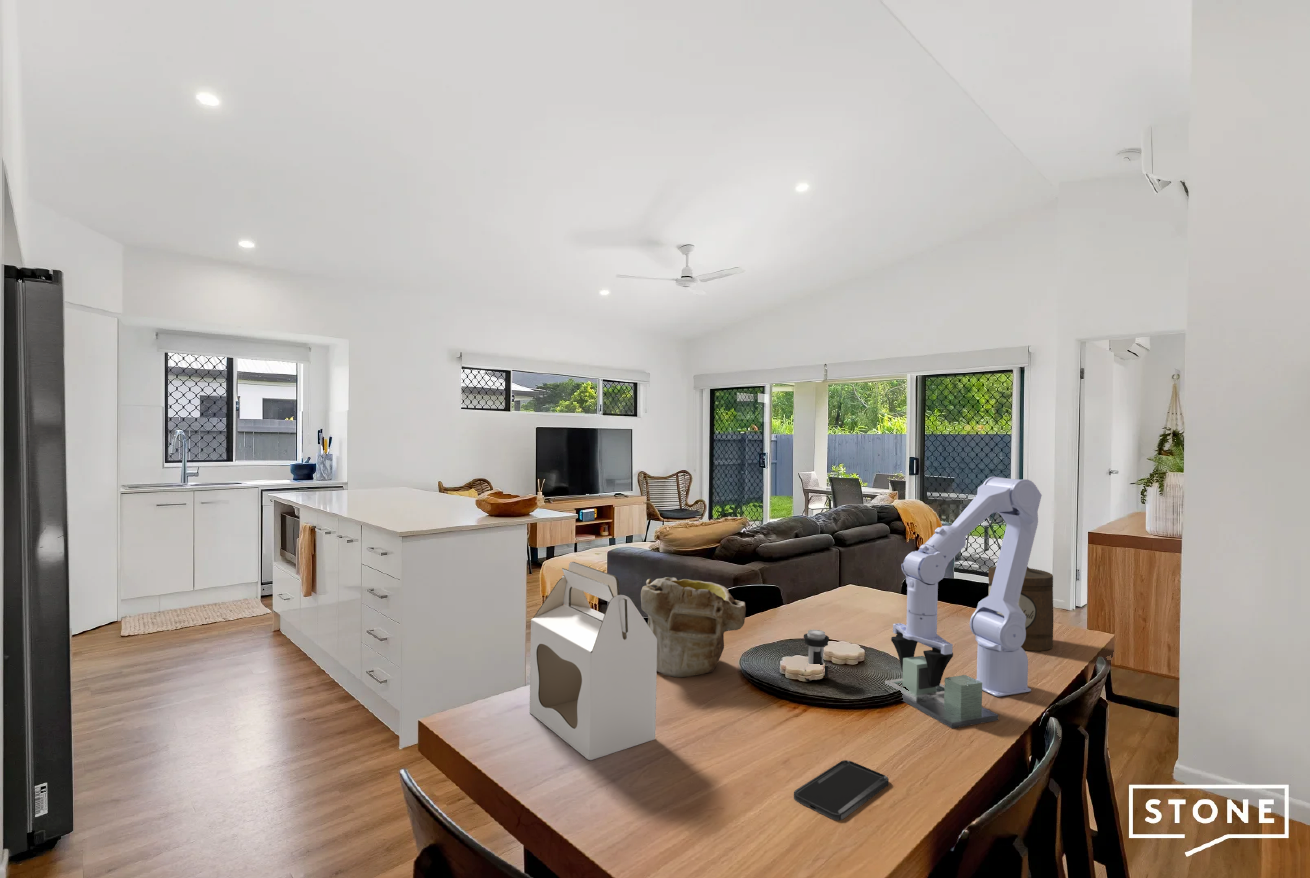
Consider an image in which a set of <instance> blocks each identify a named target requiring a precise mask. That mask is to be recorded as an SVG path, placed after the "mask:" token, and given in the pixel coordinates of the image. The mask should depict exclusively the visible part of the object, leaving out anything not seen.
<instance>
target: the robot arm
mask: <svg viewBox="0 0 1310 878" xmlns="http://www.w3.org/2000/svg"><path fill="white" fill-rule="evenodd" d="M1042 496H1043V495H1042V493H1041V491H1040V490H1039V488H1038V486H1037V485H1036V483H1034V482H1033V481H1032V480H1030V479H1026V478H1024V479H1018V478H1017V479H1016V478H1006V477H1001V476H1000V477H999V476H990V477H987V478H986V479H985V481H983V483H982V484H981V485H980V486H978V487H977V492H976V495H975V496H974V497H973V499H972V500H971V501H970V503H969V504H968V505H967V506H966V507H965V509H964V510H963V511H962V512H961V513H960V514H959V515H958V516H957V518H956V519H955V520H954V521H953V523H952V524H950V525H942V526H940V527H937V528H936V529H935V530H934V534H933V535H932V536H931V537H929V539H928V540H926V542H924V543H923V544H921V545H920V546H919V549H918V550H914V551H911V552H910V553H908V554H907V555H906V556H905V558H904V560H903V563H901V564H900V566H901V571H902V574H904V576H905V583H906V585H907V587H906V590H907V591H906V624H904V623H901V622H898V623H893V624H892V633H893V634H895V636H891V639H890V640H891V642H892V644H893V645H894V648H895V650H896V654H897V657H898V660H899V665H900V667H901V672H902V673H903V658H909V657H915V653H916V649H917V645H918V643H920V644H921V645H924V646H926V647H929V648H930V649H928V650H923V656H924V657H925V658H926V662H927V667H928V682H929V686H931V687H934V686H939V685H940V684H941V682H942V678H943V675H944V672H945V670H946V667H947V666H948V664H949V663H950V661H951V660H952V658H953V657H954V652H953V643H951V642H948V641H947V640H946V639H944V638H943V637H942V636H940V635H939V634H938V632H937V631H938V599H939V597H938V595H939V594H938V591H939V590H938V589H939V582H940V581H941V580H943V579H944V577H945V575H946V570H947V567H948V566H949V563H950V562H951V561H952V560H953V559H954V558H955V557H956V556H957V555H958V554H959V553H960V551H962V550H963V549H964V548H965V546H966V545H967V543H966V537H967V536H968V535H969V534H971V532H972V531H974V530H975V529H976V528H977V527H978V526H980V524H982V522H984V521H985V520H986V519H987V518H989V517H990V516H991V515H992V514H995V513H997V514H999V515H1000V516H1001V518H1002V520H1003V521H1004V522H1005V524H1006V527H1005V531H1004V535H1003V538H1002V541H1001V542H1002V543H1001V546H1000V551H999V554H998V559H997V562H996V566H995V567H996V570H995V574H994V578H993V582H992V586H991V590H990V594H989V596H988V595H987V596H985V597H984V598H982V599H981V600H980V601H978V603H977V606H976V609H975V611H974V612H973V613H972V614H971V617H970V620H969V628H970V632H972V634H973V635H974V636H975V642H977V651H976V652H977V654H976V655H977V656H976V657H977V659H976V678H975V679H976V680H978V681H980V682H982V691H983V692H985V693H989V694H991V695H992V696H993V697H1006V696H1009V695H1010V696H1012V695H1018V694H1023V693H1029V692H1031V691H1032V689H1031V687H1028V681H1029V679H1028V678H1029V677H1028V676H1029V673H1028V672H1029V658H1028V654H1027V653H1026V650H1023V648H1022V647H1021V646H1022V644H1023V643H1024V641H1025V638H1026V629H1025V622H1026V616H1025V614H1024V613H1023V611H1022V610H1021V608H1020V607H1019V605H1018V602H1019V598H1020V594H1021V590H1022V586H1023V582H1024V578H1025V574H1026V569H1027V566H1029V561H1030V557H1031V554H1032V548H1033V544H1034V541H1035V538H1036V537H1035V536H1036V533H1037V529H1038V525H1039V515H1038V511H1039V508H1040V503H1041V499H1042ZM997 612H1000V613H1002V614H1003V615H1004V616H1003V615H1000V614H998V613H997Z"/></svg>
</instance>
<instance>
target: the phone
mask: <svg viewBox="0 0 1310 878" xmlns="http://www.w3.org/2000/svg"><path fill="white" fill-rule="evenodd" d="M889 784H890V783H889V777H888V776H887V775H885V774H883V773H880V772H877V771H876V770H873V769H872V768H868V767H867V766H863V765H861V764H858V763H857V762H854V761H852V760H848V759H844V760H840V761H839V762H838V763H836V764H835V765H833V766H831V767H830V768H829V769H827V770H825V771H823V772H822V773H820V774H819V775H817V776H816V777H814V778H813V779H811V780H809V781H808V782H806V783H804V784H803V785H801V786H800V787H798V788H797V789H795V790H794V792H793V799H794V801H795V802H797V803H798V804H800V805H802V806H805V807H807V808H809V809H811V810H812V811H815V812H817V813H819V814H821V815H823V816H825V817H827V818H829V819H831V820H834V821H842V820H844V819H845V818H847V817H849V816H850V815H851V814H852V813H854V812H855V811H857V809H859V808H860V807H861V806H863V805H865V803H867V802H868V801H870V800H871V799H872V798H873V797H874V796H876V795H877V794H879V793H880V792H881V791H883V790H884V789H885V788H887V787H888V786H889Z"/></svg>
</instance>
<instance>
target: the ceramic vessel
mask: <svg viewBox="0 0 1310 878" xmlns="http://www.w3.org/2000/svg"><path fill="white" fill-rule="evenodd" d="M645 583H646V585H644V586H642V588H641V591H640V601H641V610H642V611H643V612H644V613H645V614H646V615H647V625H648V626H649V628H650V629H651V631H652V632H653V634H654V635H655V637H657V672H658V673H660V674H662V675H664V676H668V677H674V678H686V677H692V676H697V675H698V676H699V675H703V674H704V675H705V674H709V673H713V672H714V670H715V669H716V667H717V665H718V663H719V661H720V659H721V657H722V654H723V651H724V649H725V640H724V639H725V637H724V634H725V632H730V631H732V632H733V631H738V630H740V629H742V628H743V626H744V625H745V620H746V612H747V607H746V606H747V605H746V602H745V601H741V600H737V599H734V597H733V596H732V595H731V593H730V592H729V589H728V588H726V587H725V586H724V585H721V584H718V583H715V582H712V581H702V580H693V579H687V578H683V579H679V580H678V579H677V577H669V576H667V577H666V576H665V577H663V578H656V579H655V580H653V581H652V579H651V578H648V579H647V580H646V581H645Z"/></svg>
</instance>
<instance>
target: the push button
mask: <svg viewBox="0 0 1310 878" xmlns="http://www.w3.org/2000/svg"><path fill="white" fill-rule="evenodd" d="M803 639H804V644H806V645H807V647H808V656H807V658H808V659H807V660H808V663H809V664H820V665H825V661H824V652H825V651H824V650H825V649H824V648H825V647H827V646H828V645H829V640H830V637H829V636H828V635H826V633H825V631H824V630H820V629H809V630H808V631H807V633H804V634H803ZM808 663H807V664H808ZM828 670H829V667H828V666H827V665H825V677H828V674H829V673H828Z"/></svg>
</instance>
